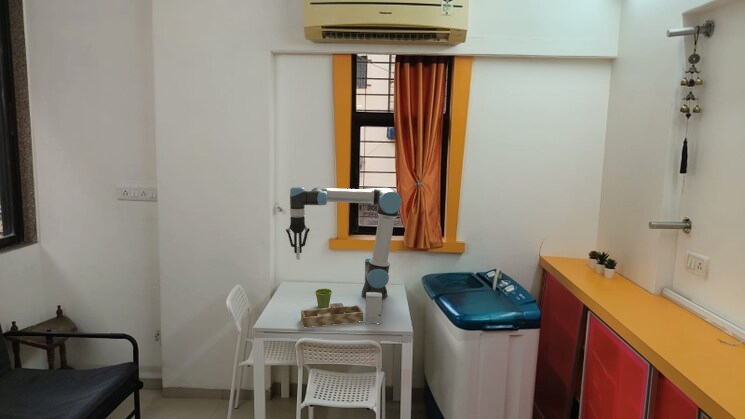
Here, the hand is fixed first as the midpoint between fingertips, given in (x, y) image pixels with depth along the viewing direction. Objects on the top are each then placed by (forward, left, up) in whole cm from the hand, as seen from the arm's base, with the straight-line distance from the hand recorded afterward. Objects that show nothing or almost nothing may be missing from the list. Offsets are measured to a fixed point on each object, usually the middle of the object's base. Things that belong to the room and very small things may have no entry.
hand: (298, 258), depth 246 cm
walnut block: (-17, +25, -23) cm, 38 cm away
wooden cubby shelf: (-14, +25, -26) cm, 39 cm away
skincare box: (-34, +31, -27) cm, 53 cm away
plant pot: (-13, +5, -27) cm, 30 cm away
